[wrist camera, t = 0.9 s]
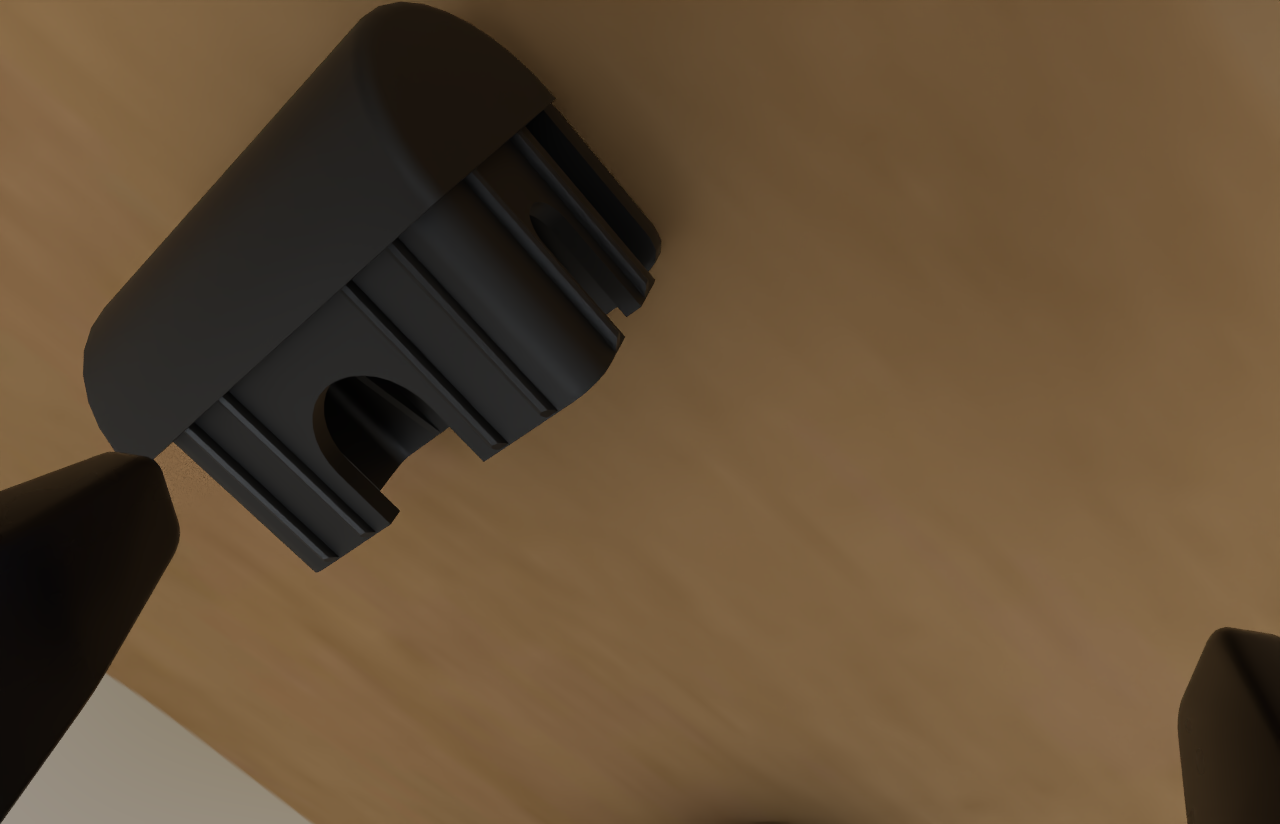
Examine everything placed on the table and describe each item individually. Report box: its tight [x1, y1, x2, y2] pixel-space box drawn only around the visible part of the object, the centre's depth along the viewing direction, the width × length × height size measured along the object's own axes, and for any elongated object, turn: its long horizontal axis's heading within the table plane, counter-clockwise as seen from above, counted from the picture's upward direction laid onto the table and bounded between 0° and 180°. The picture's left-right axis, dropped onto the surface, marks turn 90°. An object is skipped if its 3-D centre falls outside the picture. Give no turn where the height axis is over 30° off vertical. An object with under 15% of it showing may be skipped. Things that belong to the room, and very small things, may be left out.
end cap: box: [83, 2, 661, 572], centre depth 20 cm, size 10×7×7 cm
